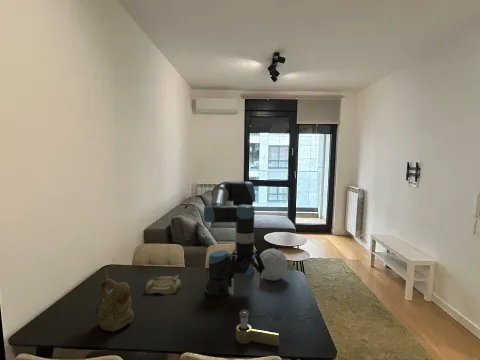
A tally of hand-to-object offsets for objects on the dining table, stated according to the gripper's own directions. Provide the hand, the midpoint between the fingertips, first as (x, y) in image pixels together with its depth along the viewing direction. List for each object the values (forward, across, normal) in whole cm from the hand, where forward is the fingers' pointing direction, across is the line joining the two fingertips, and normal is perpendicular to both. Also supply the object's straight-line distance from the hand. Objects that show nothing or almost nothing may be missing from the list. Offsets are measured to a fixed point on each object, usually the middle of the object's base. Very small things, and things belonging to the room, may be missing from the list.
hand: (244, 289), depth 130 cm
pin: (+22, 0, 0) cm, 22 cm away
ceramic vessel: (+22, -44, +42) cm, 65 cm away
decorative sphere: (+23, +52, +42) cm, 70 cm away
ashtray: (+23, -11, +68) cm, 73 cm away
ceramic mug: (+23, -41, +65) cm, 80 cm away
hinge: (+22, +7, -1) cm, 23 cm away
